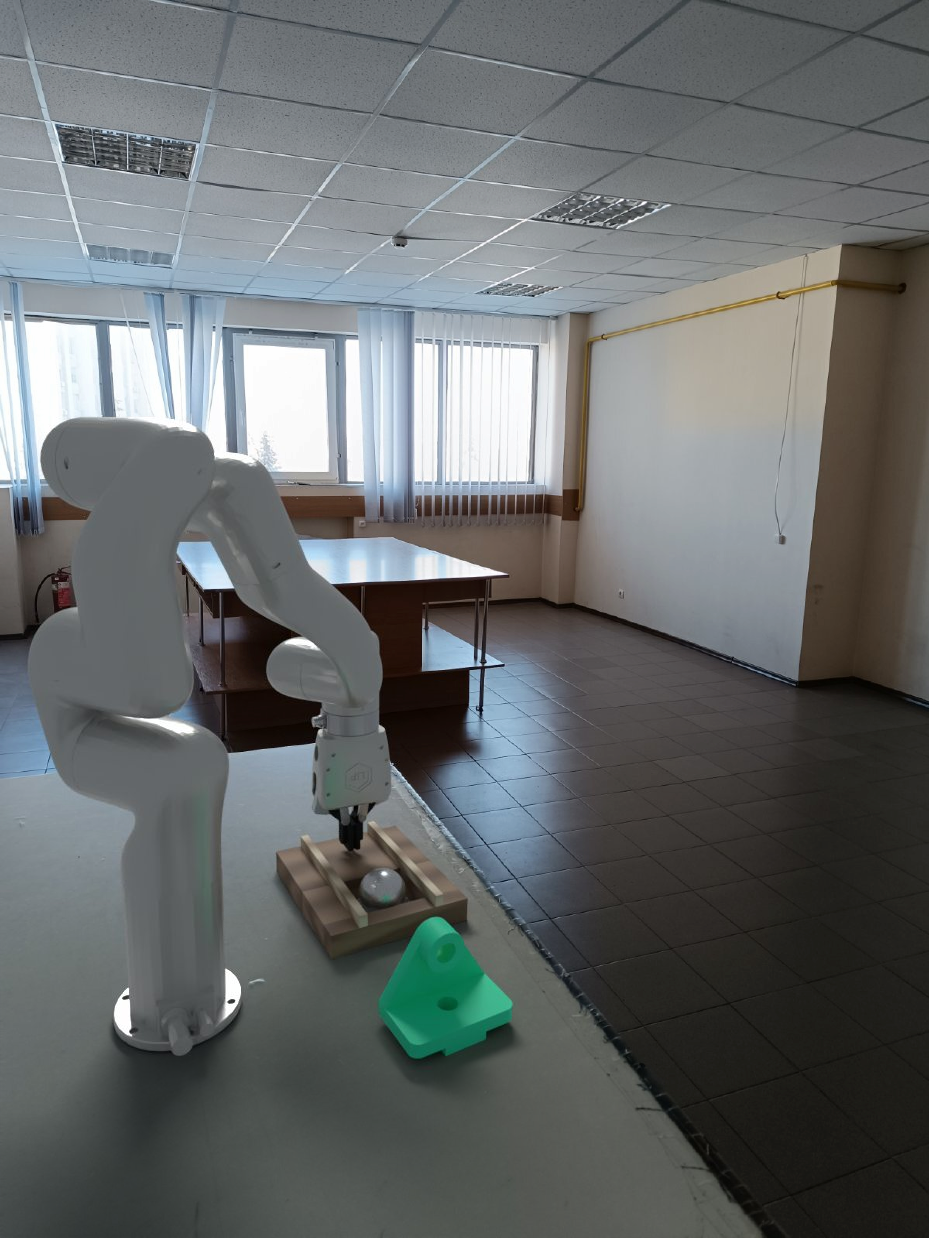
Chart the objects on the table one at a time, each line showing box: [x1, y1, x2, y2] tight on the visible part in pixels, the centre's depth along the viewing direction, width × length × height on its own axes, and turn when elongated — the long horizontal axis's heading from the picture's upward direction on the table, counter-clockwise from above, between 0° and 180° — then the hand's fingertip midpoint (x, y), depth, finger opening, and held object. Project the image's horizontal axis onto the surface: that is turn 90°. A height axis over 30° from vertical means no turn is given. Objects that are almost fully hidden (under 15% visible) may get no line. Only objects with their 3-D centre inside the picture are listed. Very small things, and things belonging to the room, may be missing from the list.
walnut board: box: [275, 820, 469, 960], centre depth 107 cm, size 22×18×4 cm
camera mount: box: [378, 917, 514, 1059], centre depth 83 cm, size 12×8×10 cm, turn 122°
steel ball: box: [358, 868, 407, 913], centre depth 102 cm, size 6×6×6 cm
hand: (350, 845), depth 112 cm, fingers closed
